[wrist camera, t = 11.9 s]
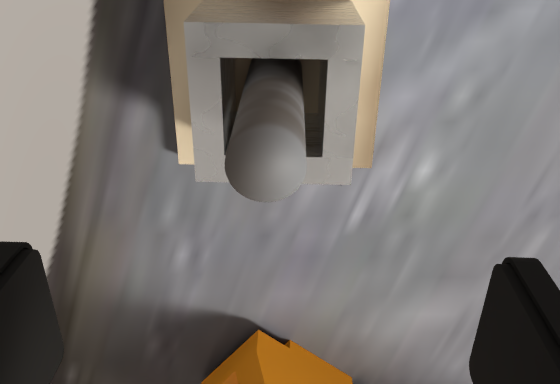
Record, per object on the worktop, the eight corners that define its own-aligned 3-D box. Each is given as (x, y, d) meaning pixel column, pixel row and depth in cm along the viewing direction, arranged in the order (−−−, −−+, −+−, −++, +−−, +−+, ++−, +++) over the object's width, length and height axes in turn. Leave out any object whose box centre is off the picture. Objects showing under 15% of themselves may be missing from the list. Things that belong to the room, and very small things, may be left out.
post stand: (390, -46, 23) (461, -5, 13) (368, 159, 28) (408, 297, 18) (164, -49, 23) (71, -11, 13) (182, 155, 28) (124, 290, 18)
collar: (351, 0, 23) (365, 25, 18) (341, 137, 26) (350, 185, 22) (204, -2, 23) (183, 21, 19) (212, 134, 26) (195, 181, 22)
